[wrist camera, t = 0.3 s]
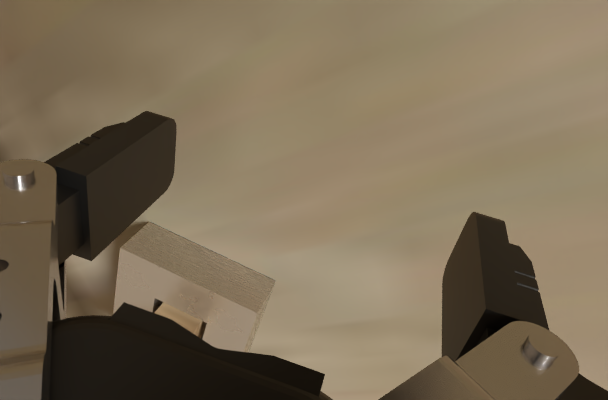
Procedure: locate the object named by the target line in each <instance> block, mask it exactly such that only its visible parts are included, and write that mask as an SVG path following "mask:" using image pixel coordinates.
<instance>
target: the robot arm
mask: <svg viewBox="0 0 608 400" xmlns="http://www.w3.org/2000/svg"><path fill="white" fill-rule="evenodd" d="M175 146H176V122H175V121H174V119H172V118H168V117H165V116H162V115H158V114H155V113H152V112H149V111H145V112H143V113H141V114H140V115H138V116H136V117H135V118H133V119H131V120H130V121H128V122H126V123H124V122H123V123H119V124H115V125H111V126H107V127H104V128H102V129H100V130H99V131H97V132H95V133H94V134H92V135H91V137H87V138H85V139H83V140H82V141H80V143H79V144H78V143H77V144H75V145H73V146H71V147H70V148H68V149H66V150H65V151H63V152H61V153H59V154H58V155H56V156H54V157H53V158H51V159H49V160H47V161H46V162H41V161H36V160H28V159H19V160H9V161H5V162H1V163H0V400H332V399H331V398H330V397H329V396H327V395H326V394H324V393H323V392H321V391H320V390H321V387H322V383H323V379H324V376H325V374H323V373H320V372H317V371H314V370H312V369H309V368H306V367H303V366H300V365H298V364H295V363H292V362H289V361H286V360H284V359H281V358H278V357H275V356H271V355H263V354H255V353H248V352H240V351H232V350H224V349H219V348H216V347H213V346H211V345H210V344H208V343H207V342H205V341H204V340H202V339H201V338H199V337H198V336H196V335H195V334H193V333H192V332H190V331H189V330H187V329H185V328H184V327H182V326H181V325H179V324H178V323H176V322H175V321H173V320H172V319H169V318H167V317H164V316H161V315H158V314H155V313H153V312H150V311H147V310H144V309H142V308H139V307H136V306H133V305H130V304H128V303H125V302H124V303H123V304H122V305H121V306H120V307H119V308H118V310H117V311H116V312H115V313H114V314H113V315H112V316H95V315H92V316H78V317H72V318H66V262H65V260H66V259H67V258H68V257H69V256H71V255H72V254H73V255H76V256H79V257H82V258H85V259H87V260H90V261H92V260H93V259H94V258H95V257H96V256H97V255H98V254H100V253H101V252H102V251H103V250H104V249H105V248H106V247H107V246H108V245H109V244H110V243H111V242H112V241H113V240H114V239H115V238H117V237H118V236H119V235H120V234H121V233H122V232H123V231H124V230H125V229H126V228H127V227H128V226H129V225H130V224H131V223H132V222H134V221H135V220H136V219H137V218H138V217H139V216H140V215H141V214H142V213H143V212H144V211H145V210H146V209H147V208H148V207H149V206H151V205H152V204H153V203H154V202H155V201H156V200H157V199H158V198H159V197H160V196H161V195H162V194H163V193H164V192H165V191H166V190H167V189H168V187H169V185H170V183H171V181H172V178H173V174H174V164H175ZM379 400H608V391H607V390H605V389H603V388H601V387H600V386H598V385H596V384H594V383H593V382H591V381H589V380H588V379H586V378H585V377H583V376H582V375H580V374H579V365H578V361H577V359H576V357H575V355H574V353H573V352H572V350H571V349H570V348H569V347H568V345H567V344H566V343H565V342H564V341H563V340H561V339H560V338H559V337H558V336H557V335H555V334H554V333H552V332H551V331H549V328H548V324H547V320H546V316H545V312H544V308H543V304H542V300H541V296H540V293H539V292H538V285H537V281H536V280H535V273H534V269H533V265H532V262H531V261H530V259H529V258H528V257H527V255H526V254H525V253H524V251H523V250H522V249H521V248H520V246H516V245H513V244H510V243H509V241H508V236H507V231H506V226H505V222H504V221H502V220H499V219H496V218H493V217H489V216H486V215H483V214H479V213H476V212H473V213H472V214H471V215H470V216H469V218H468V220H467V222H466V224H465V226H464V228H463V230H462V232H461V234H460V237H459V239H458V241H457V243H456V245H455V247H454V249H453V251H452V253H451V255H450V257H449V260H448V262H447V265H446V268H445V271H444V275H443V283H442V357H441V358H439V359H438V360H436V361H435V362H433V363H432V364H430V365H429V366H427V367H426V368H424V369H423V370H421V371H420V372H418V373H417V374H416V375H414V376H413V377H411V378H410V379H408V380H407V381H405V382H404V383H402V384H401V385H399V386H398V387H396V388H395V389H393V390H392V391H390V392H389V393H387V394H386V395H384V396H383V397H382V398H380V399H379Z"/></svg>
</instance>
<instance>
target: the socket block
mask: <svg viewBox="0 0 608 400" xmlns="http://www.w3.org/2000/svg"><path fill="white" fill-rule="evenodd" d="M274 284H275V280H273V279H270V278H268V277H266V276H264V275H262V274H260V273H258V272H255V271H253V270H251V269H249V268H247V267H245V266H243V265H240V264H238V263H236V262H234V261H232V260H230V259H228V258H225V257H223V256H221V255H219V254H217V253H215V252H213V251H210V250H208V249H206V248H204V247H202V246H200V245H198V244H196V243H193V242H191V241H189V240H187V239H185V238H183V237H181V236H178V235H176V234H174V233H172V232H170V231H168V230H166V229H163V228H161V227H159V226H157V225H155V224H153V223H151V222H148V223H147V224H146V225H145V226H144V227H143V228H142V229H140V230H139V231H138V232H137V233H136V234H135V235H134V236H133V237H131V238H130V239H129V240H128V241H127V242H126V243H125V244H124V245H123V246H121V247H120V252H119V262H118V271H117V280H116V290H115V299H114V309H113V314H114V313H115V312H116V311H117V310H118V308H119V307H120V306H121V305H122V304H123V303H124V302H125V303H128V304H130V305H133V306H136V307H139V308H142V309H144V310H147V311H150V312H153V313H155V312H156V310H157V309H158V308H159V307H160V306H161V304H162V303H163V302H164V303H166V304H168V305H171V306H173V307H175V308H177V309H179V310H181V311H183V312H185V313H187V314H189V315H191V316H193V317H195V318H197V319H199V320H202V321H204V322H206V323H207V324H206V328H205V332H204V334H203V336H202V337H201V339H202V340H204V341H205V342H207V343H208V344H210V345H211V346H213V347H216V348H219V349H224V350H232V351H240V352H248V353H249V350H250V348H251V345H252V342H253V340H254V337H255V334H256V332H257V329H258V326H259V324H260V321H261V318H262V316H263V313H264V310H265V308H266V305H267V303H268V300H269V297H270V295H271V292H272V289H273V287H274Z"/></svg>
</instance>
